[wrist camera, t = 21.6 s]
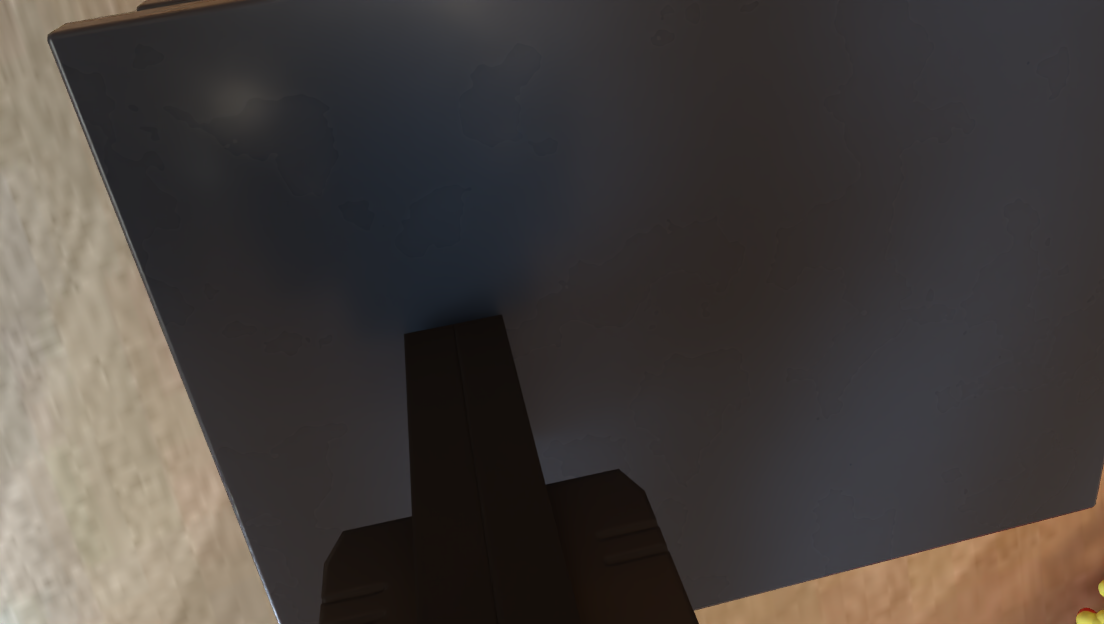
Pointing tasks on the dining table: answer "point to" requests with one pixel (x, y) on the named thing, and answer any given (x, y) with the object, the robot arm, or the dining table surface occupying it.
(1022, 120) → the lid
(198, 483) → the dining table surface
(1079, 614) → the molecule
